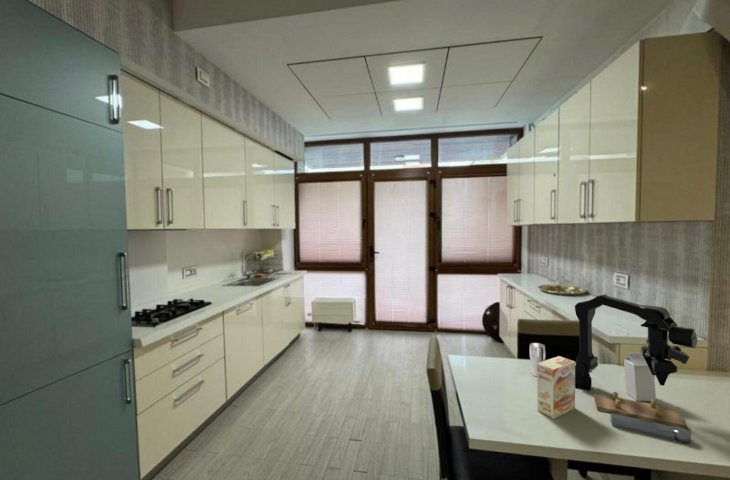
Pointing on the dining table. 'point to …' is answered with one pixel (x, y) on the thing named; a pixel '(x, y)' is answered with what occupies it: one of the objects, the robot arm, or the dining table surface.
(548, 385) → the coffeecake box
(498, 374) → the dining table surface
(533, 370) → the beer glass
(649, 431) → the grey ball-topped bar
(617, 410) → the tool rest
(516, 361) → the dining table surface
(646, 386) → the milk carton
